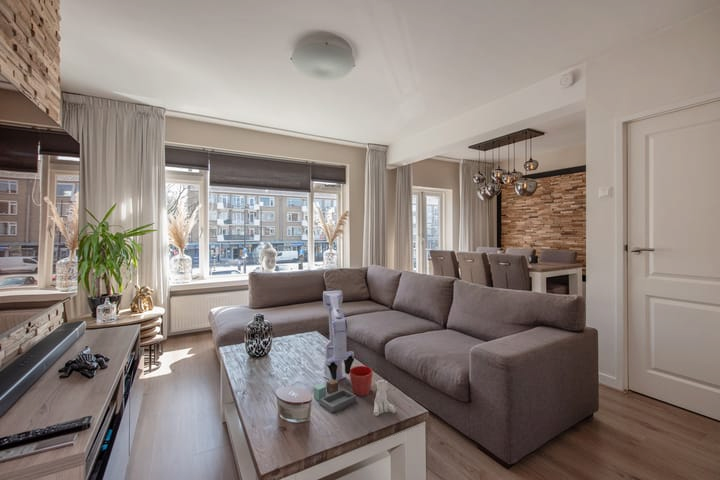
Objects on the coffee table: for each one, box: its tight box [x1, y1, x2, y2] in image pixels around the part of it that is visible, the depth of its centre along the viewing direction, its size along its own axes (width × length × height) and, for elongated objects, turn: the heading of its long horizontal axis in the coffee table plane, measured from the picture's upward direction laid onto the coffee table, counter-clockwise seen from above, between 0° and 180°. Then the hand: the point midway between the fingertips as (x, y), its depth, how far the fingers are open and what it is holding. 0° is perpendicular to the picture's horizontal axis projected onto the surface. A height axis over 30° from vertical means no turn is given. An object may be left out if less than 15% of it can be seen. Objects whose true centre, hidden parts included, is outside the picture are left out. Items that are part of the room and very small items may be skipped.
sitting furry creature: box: [373, 379, 397, 417], centre depth 130 cm, size 10×9×12 cm
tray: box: [319, 388, 357, 414], centre depth 136 cm, size 9×13×2 cm
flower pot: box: [349, 365, 373, 396], centre depth 145 cm, size 11×11×10 cm
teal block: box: [313, 383, 327, 402], centre depth 141 cm, size 4×4×5 cm
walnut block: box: [325, 379, 340, 395], centre depth 145 cm, size 4×4×5 cm
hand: (340, 376), depth 140 cm, fingers open, 7 cm apart
